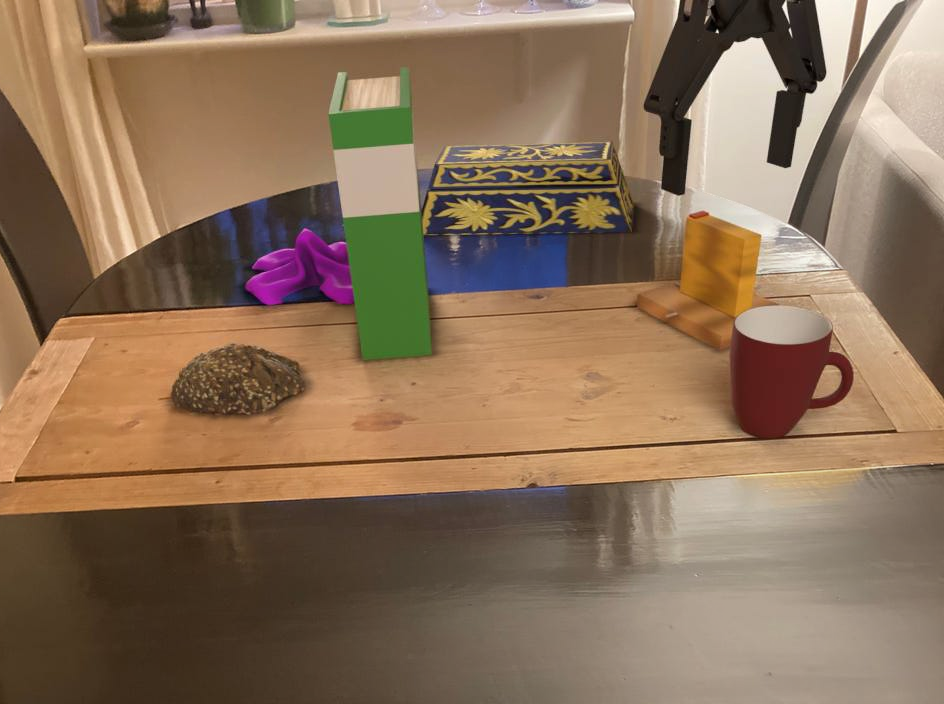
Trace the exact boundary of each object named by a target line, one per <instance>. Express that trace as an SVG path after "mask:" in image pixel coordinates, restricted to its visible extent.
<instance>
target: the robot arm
mask: <svg viewBox="0 0 944 704" xmlns="http://www.w3.org/2000/svg"><path fill="white" fill-rule="evenodd" d="M785 2H786V11H787V15H786V13H785V10H784V8H783V6H784V4H785ZM787 16H788V17H787ZM819 22H820V21H819V16H818V9H817V3H816V0H679V4H678V9H677V17H676V19H675V22H674V25H673V28H672V30H671V33H670V35H669V38H668V40H667V43H666V45H665V48H664V50H663V53H662V56H661V59H660V61H659V64H658V65H657V68H656V72H655V74H654V76H653V79H652V81H651V84H650V86H649V89H648V92H647V94H646V97H645V99H644V103H643V110H644V111H645V112H647V113H649V114H653V115H657V116H658V117H659V118H660V129H659V130H660V132H659V133H660V134H659V145H658V151H659V155H660V156H661V157H663V160H662V171H661V183H660V184H661V185H660V190H662V191H665V192H667V193H670V194H672V195H675V196H678V197H679V196H684V195H686V185H687V175H688V165H689V164H688V163H689V154H690V143H691V134H692V122H693V119H691V118H687V117H685V116H686V115H687V113H688V112H689V110H690V108H691V107H692V105H693V103H695V100H696V99H697V97H698V95H699V94H700V92H701V90H702V89H703V87H704V85H705V84H706V83H707V80H708V78H709V77H710V76H711V74H712V72H713V71H714V69H715V67H716V65H717V64H718V62H719V61H720V59H721V57H723V54H724V53H725V52H727V51H728V50H730V49H731V48H732V47H733V45H734V44H735V43H743V42H746V41H748V40H750V39H751V38H752V39H757V40H758V39H761V40H762V42H763V44H764V46H765V48H766V50H767V52H768V54H769V56H770V59H771V61H772V63H773V65H774V67H775V69H776V71H777V73H778V75H779V78H780V80H781V82H782V84H783V86H784V88H785V89H786V90H785V89H780V90H777V91H776V93H775V100H774V108H773V115H772V121H771V129H770V130H771V131H770V136H769V143H768V149H767V156H766V163H767V164H771V165H774V166H777V167H779V168H783V169H788V168H791V167H792V163H793V156H794V150H795V145H796V144H795V143H796V138H797V131H798V129H799V128H800V127H801V124H802V121H803V115H804V108H805V103H806V96H807V94H809V95H812V94H814V93H816V91H817V88H818V83H822V82H823V81H824V80H825V79H826V77H827V73H828V71H827V66H826V59H825V53H824V47H823V41H822V34H821V29H820V23H819Z"/></svg>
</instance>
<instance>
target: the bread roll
mask: <svg viewBox="0 0 944 704" xmlns="http://www.w3.org/2000/svg"><path fill="white" fill-rule="evenodd" d="M299 367H300V363H299V362H298V361H297V360H292V359H291V358H289V357H286V356H283V355H281V354H277V353H276V352H274V351H271V350H266V349H265V348H264V347H259V346H258V345H245V344H243V343H241V344H238V343H235V342H231V343H228V344H226V345H223V346H221V347H216V348H213V349H210V350H209V351H207V352H201V353H200V354H199V353H198V354H197V355H196V356H195V357H192V359H191V360H190V361H188V363H187V365H186V366H183V367H181V370H179V372H178V378H177V379H175V381H174V382H173V384H172V386H171V387H172V388H171V394H170V397H171V401H172V402H173V403H174V404H175V405H176V407H178V408H181V409H183V410H187V411H189V412H191V413H199V414H207V415H211V416H227V415H233V416H250V415H256V414H257V415H258V414H262V413H266V412H269V411H271V410H273V409H274V408H275V407H276V406H277V405H278V404H280V403H281V402H282V401H283V400H284V399H286V398H288V397H294V396H295V397H296V396H298V395H299V394H301V393H302V392H304V391H305V388H306V382H305V380H304V379H303V378H302V376H300V375H299V374H300V368H299Z"/></svg>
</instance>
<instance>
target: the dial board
mask: <svg viewBox="0 0 944 704" xmlns="http://www.w3.org/2000/svg"><path fill="white" fill-rule="evenodd" d="M680 284H681V280H678V281H675V282H672V283H668V284H664V285H662V286H658V287H656V288H652V289H649V290H645V291H642V292H638V293H637V300H636V308H638V309H640V310H641V311H644V313H647V314H649V315H651V316H653V317H655V318H657V319H659V320H660V321H662V322H665V323H666V324H668V325H670V326H672V327H674V328H676V329H678V330H680V331H681V332H684V333H685V334H688V335H690V336H692V337H693V338H695V339H697V340H699V341H702V342H703V343H704V344H707V345H709V346H710V347H712V348H714V349H716V350H718V351H722V350H725V349H728V348H729V349H730V342H731V335H732V329H733V323H734V320H735V318H736V317H732V316H730V315H728V314H726V313H724V312H722V311H720V310H718V309H716V308H714V307H712V306H709V305H707V304H705V303H703V302H701V301H699V300H697V299H695V298H693V297H691V296H689V295H686V294H684V293H682V292H680ZM762 288H763V286H762V285H758V286H754V291H757V290H760V289H762ZM771 305H780V304H779V303H777V302H775V301H774V300H773V301H772V300H771V299H768V298H766V297H763V296H762V295H759V294H757V293H754V292H753V299H752V306H751V309H752V308H756V307H761V306H771Z"/></svg>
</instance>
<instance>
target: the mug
mask: <svg viewBox="0 0 944 704" xmlns="http://www.w3.org/2000/svg"><path fill="white" fill-rule="evenodd" d="M833 327H834V326H833V323H832V321H831V320H830V319H829V318H828V317H827V316H825V315H823V314H822V313H820V312H818V311H816V310H812V309H809V308H806V307H801V306H795V305H783V304H779V305H771V306H761V307H756V308H752V309H749V310H746V311H744V312H742V313H741V314H739V315H738V316H737V317H736V318H735V320H734V323H733V329H732V335H731V342H730V347H729V374H730V375H729V376H730V391H731V392H730V393H731V394H730V397H731V404H732V408H733V412H734V414H735V416H736V419H737V421H738V424H739V426H740V428H741V430H742V431H743V432H744V433H745V434H747V435H749V436H751V437H754V438H758V439H765V440H771V439H772V440H773V439H779V438H782V437H783V438H784V437H785V436H787V435H789V434H790V432H791V431H792V430H793V429H794V428H795V427H796V425H797V424H798V423H799V421H800V420H801V419H802V418H803V417H804V415H805V414H806V413H807V411H808V410H817V409H818V410H819V409H826V408H830V407H832V406H834V405H837V404H839V403H840V402H842V401H843V400H844V399H845V398H846V397H847V396H848V394H849V393H850V391H851V389H852V386H853V383H854V375H855V373H854V368H853V366H852V364H851V361H850V360H849V359H848V358H847V356H846V355H845V354H843V353H840V352H837V351H830V348H831V342H832V336H833V331H834V328H833ZM827 366H833V367H836V368H837V369H838V370H839V372H840V376H841V379H840V383H839V385H838V387H837V388H836V389H835V391H833V392H832V393H831V394H829V395H826V396H823V397H818V398H813V397H814V394H815V391H816V389H817V387H818V384H819V381H820V379H821V376H822V374H823V372H824V371H825V368H826V367H827Z"/></svg>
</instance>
